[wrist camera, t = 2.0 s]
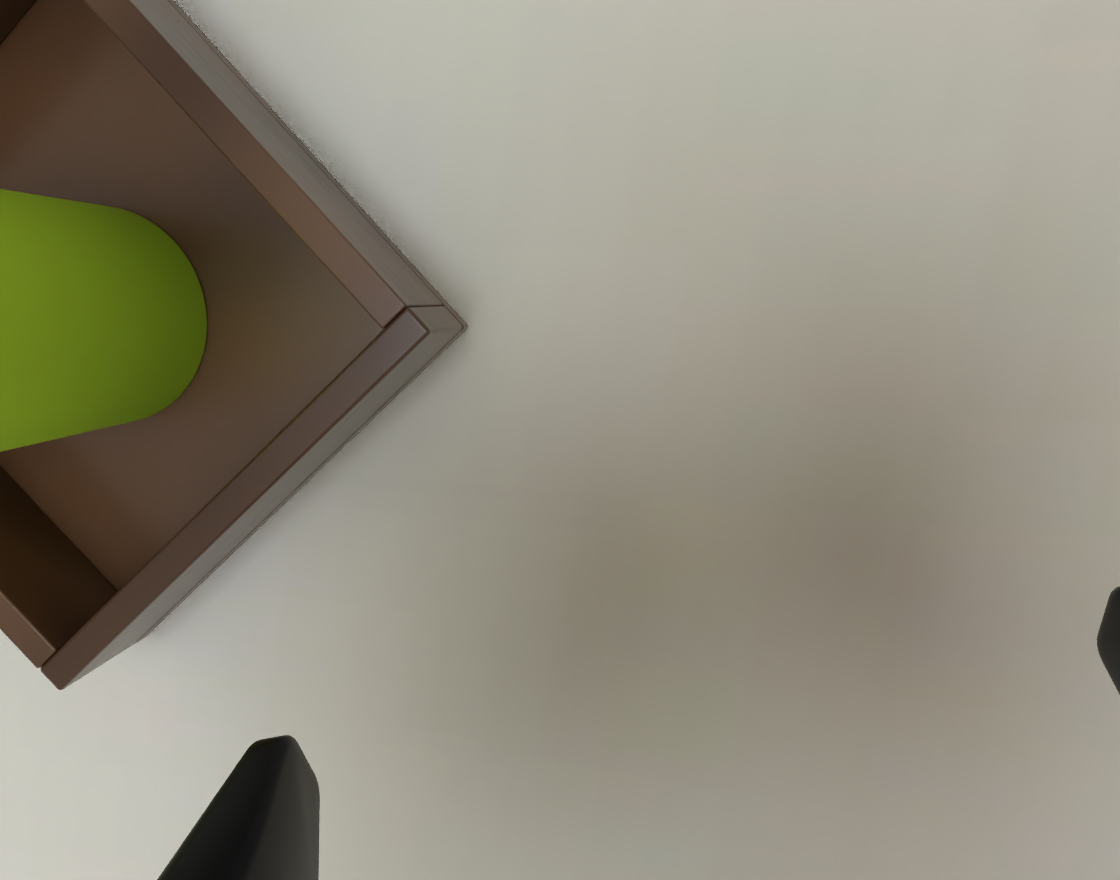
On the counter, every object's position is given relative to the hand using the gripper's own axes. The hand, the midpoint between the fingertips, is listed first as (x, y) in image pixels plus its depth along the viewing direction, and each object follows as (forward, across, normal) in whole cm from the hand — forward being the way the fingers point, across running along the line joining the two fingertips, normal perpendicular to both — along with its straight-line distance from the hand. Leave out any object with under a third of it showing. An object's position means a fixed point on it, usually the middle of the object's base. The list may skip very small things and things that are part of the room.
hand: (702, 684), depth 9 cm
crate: (+17, +13, +1) cm, 21 cm away
